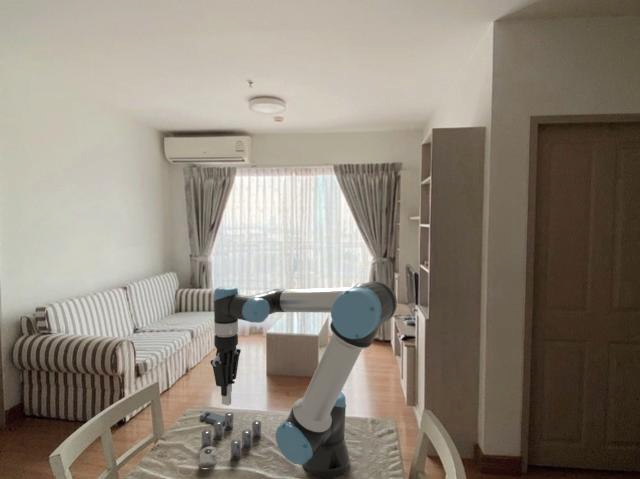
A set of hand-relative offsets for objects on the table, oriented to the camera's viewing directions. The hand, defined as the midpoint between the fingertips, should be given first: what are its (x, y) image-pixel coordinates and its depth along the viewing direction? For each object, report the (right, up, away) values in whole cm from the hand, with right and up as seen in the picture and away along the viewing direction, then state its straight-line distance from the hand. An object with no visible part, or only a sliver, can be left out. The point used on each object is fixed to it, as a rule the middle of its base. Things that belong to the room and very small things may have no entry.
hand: (226, 403), depth 117 cm
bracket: (-9, -15, +17) cm, 25 cm away
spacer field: (+1, -15, +5) cm, 16 cm away
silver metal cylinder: (-4, -16, -6) cm, 18 cm away
